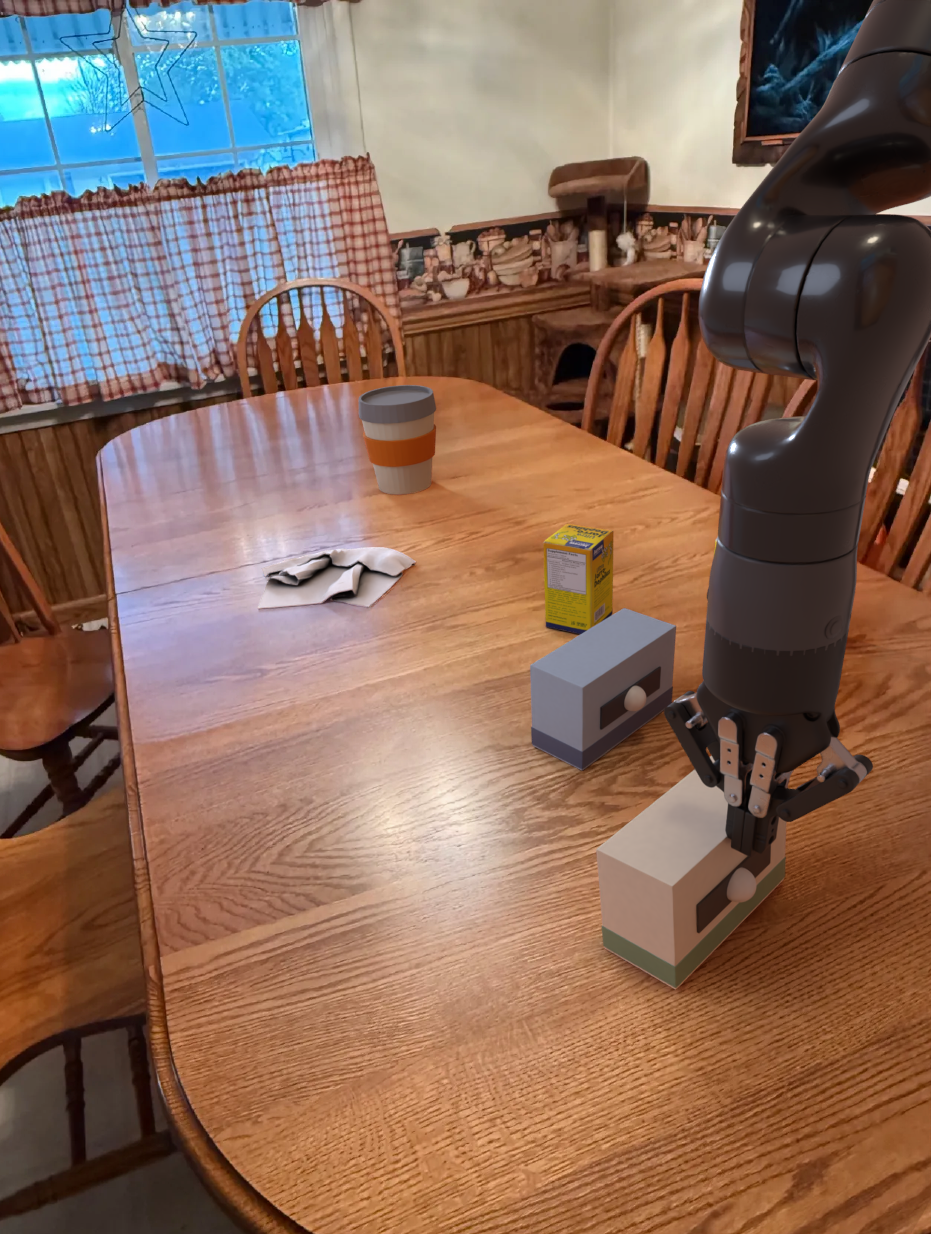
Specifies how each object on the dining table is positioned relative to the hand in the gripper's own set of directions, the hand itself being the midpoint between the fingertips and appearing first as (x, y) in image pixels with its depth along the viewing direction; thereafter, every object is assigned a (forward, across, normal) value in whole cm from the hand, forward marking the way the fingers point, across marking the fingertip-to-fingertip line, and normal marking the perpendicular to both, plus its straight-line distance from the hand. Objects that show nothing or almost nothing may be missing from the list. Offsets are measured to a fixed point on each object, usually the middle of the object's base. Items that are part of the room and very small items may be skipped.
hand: (748, 846), depth 59 cm
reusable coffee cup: (+8, +91, -51) cm, 105 cm away
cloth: (+8, +72, -20) cm, 75 cm away
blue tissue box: (+8, +23, -15) cm, 29 cm away
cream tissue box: (+8, +3, 0) cm, 9 cm away
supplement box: (+8, +38, -30) cm, 50 cm away
